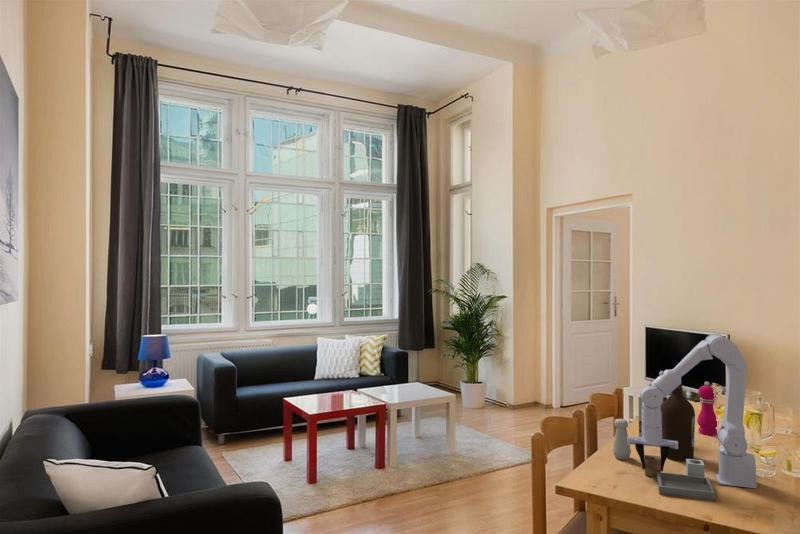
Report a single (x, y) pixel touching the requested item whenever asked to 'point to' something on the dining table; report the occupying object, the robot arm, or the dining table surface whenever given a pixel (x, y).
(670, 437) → the olive oil
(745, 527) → the dining table surface
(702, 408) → the pepper mill
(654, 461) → the small bore block
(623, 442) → the salt shaker
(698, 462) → the wide bore block
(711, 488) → the tray
